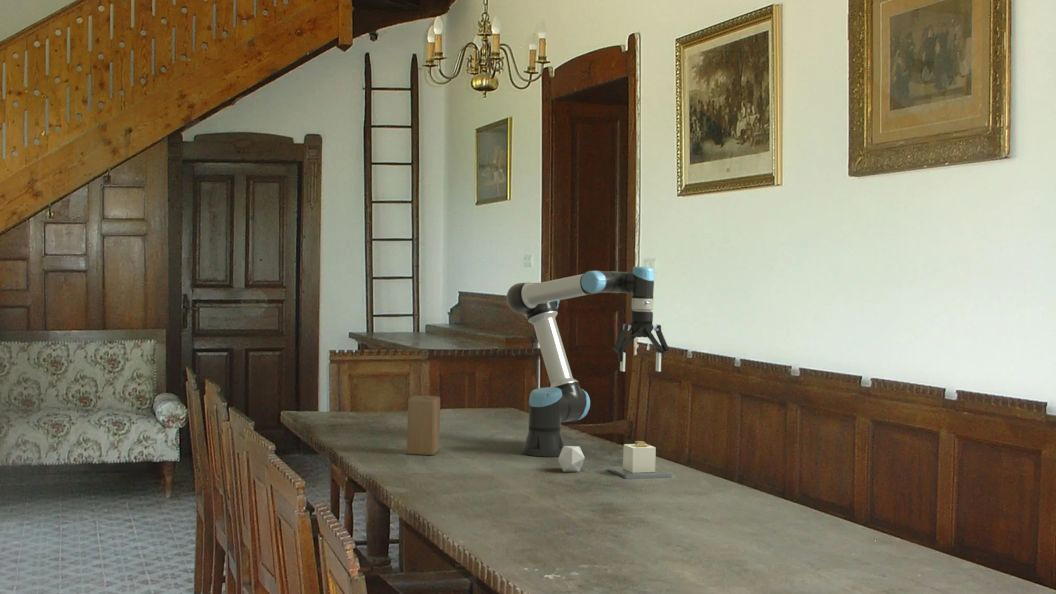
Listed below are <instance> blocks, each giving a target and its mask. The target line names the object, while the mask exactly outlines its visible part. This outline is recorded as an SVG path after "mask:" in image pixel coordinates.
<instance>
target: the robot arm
mask: <svg viewBox="0 0 1056 594" xmlns="http://www.w3.org/2000/svg"><path fill="white" fill-rule="evenodd" d="M654 286H655V269H654V268H653V267H652V266H633V268H632V271H630V272H629V271H614V270H613V271H609V270H608V271H606V270H605V271H602V270H589V271H586V272H584V273H582V274H577V275H571V276H567V277H562V278H557V279H552V280H547V281H543V282H531V281H530V282H529V281H527V282H518V283H516V284H513V285H512V286H510V288H509V289H508V291H507V293H506V303H507V306H508V307H509V309H510V310H511V311H513V312H515V313H516V314H520V315H521V314H523V315H526V318H527V323H530V324H532V325H533V328H534V332H535V335H536V339H537V342H538V345H539V348H540V352H541V355H542V360H543V363H544V366H545V369H546V373H547V375H548V380H549V383H550V387H549V386H547V387H539V388H536V389H533V390H531V392H530V393H529V400H528V432H527V435H526V438H525V441H524V444H523V448H522V453H523V454H524V455H528V456H533V457H543V458H545V457H547V458H549V457H551V458H552V457H559V456H560V453H561V451H562V448H563V446H565V444H564V440H563V436H562V431H561V430H562V427H561V426H562V423H566V422H567V423H568V422H576V421H579V420H582V419H583V418H585V417H586V416H587V415H588V413H589V410H590V407H591V399H590V396H589V394H588V392H587V391H586V390H584V389H583V388H581V387H580V383H579V380H577V379H575V378H574V377H573V374H572V370H571V367H570V364H569V363H570V362H569V361H568V357H567V354H566V350H565V348H564V344H563V341H562V337H561V333H560V330H559V327H558V324H557V320H556V318H557V315H558V313H559V312H558V308H559V304H560V301H562V300H567V299H573V298H578V297H582V296H583V297H584V296H590V295H594V294H599V293H600V294H602V293H605V294H606V293H607V294H609V293H610V294H611V293H612V294H618V293H619V294H631V310H632V311H631V316H630V317H631V319H630V320H631V321H630V322H631V323H630V324H627V323H623V324H622V327H621V331H620V334H619V335H618V337H617V339H616V341H615V344H614V346H613V348H612V349H613V351H616V352H617V353H618V354H617V362H619V365H620V366H619V371H620V372H626V352H624V351H626V349H627V348H628V347H629V346H630V344H631V343H632V342H633V341H634V339H636V338H647V339H649V341H650V343H652V345H653V347H655V349H656V350H657V352H655V372H662V363H663V362H664V353H666V352H668V351H669V346H668V344H667V341H666V339H665V336H664V335H663V332H662V325H661V324H658V323H657V324H655V325H654V324H653V323H654V322H653V321H654V312H653V310H654ZM628 331H631V332H630V333H629V335H628V336H627V338H626V335H627V334H628ZM652 331H654V332H655V333H656V336H657V338H655V335H654V334H653V333H652ZM625 338H626V339H625ZM657 339H658V340H657Z"/></svg>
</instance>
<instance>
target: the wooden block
mask: <svg viewBox="0 0 1056 594" xmlns="http://www.w3.org/2000/svg"><path fill="white" fill-rule="evenodd" d="M440 421H441V397H440V396H438V395H419V394H418V395H417V394H416V395H415V394H414V395H413V396H411V397H409V398H408V401H407V432H406V433H407V434H406V437H407V438H406V441H407V442H406V453H407V455H411V456H412V455H415V456H419V455H420V456H434V455H436V454H437V453H438V452H439V450H440V428H441V427H440V425H441V423H440Z"/></svg>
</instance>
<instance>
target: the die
mask: <svg viewBox="0 0 1056 594" xmlns="http://www.w3.org/2000/svg"><path fill="white" fill-rule="evenodd" d="M584 460H585V455H584V453H583V451H582V449H581V447H580V446H576V445H575V446H574V445H569V446H568V445H564V446H563V448H562V451H561V453H560V456H558V460H557V461H558V463H559V465H560V467H561V470H562V472H565V473H567V472H569V473H570V472H571V473H574V472H575V473H579V472H580V470H581V469H582V466H583V465H584Z"/></svg>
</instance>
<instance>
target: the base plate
mask: <svg viewBox="0 0 1056 594" xmlns="http://www.w3.org/2000/svg"><path fill="white" fill-rule="evenodd" d="M634 444H635V447H645V444H646V441H642V440H635V441H634ZM607 471H609V472H611V473H613V474H615V475H618V476H619V477H621V478H624V479H625V480H630V479H654V478H655V479H663V478H672V476H673V475H672V473H669V472H668V471H665V470H663V469H660V468H658V467H657V466H655V472H640V473H632V472H630V471H628V470H625V469H623V465H622V466H620V465H619V466H617V465H616V466H607Z"/></svg>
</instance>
